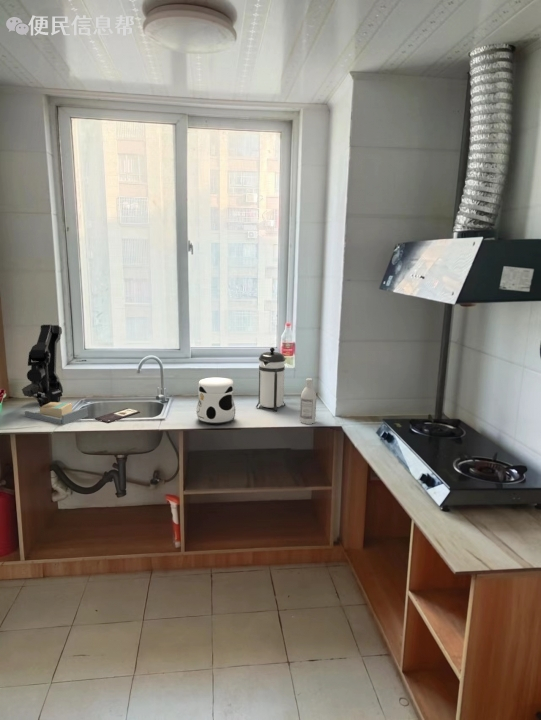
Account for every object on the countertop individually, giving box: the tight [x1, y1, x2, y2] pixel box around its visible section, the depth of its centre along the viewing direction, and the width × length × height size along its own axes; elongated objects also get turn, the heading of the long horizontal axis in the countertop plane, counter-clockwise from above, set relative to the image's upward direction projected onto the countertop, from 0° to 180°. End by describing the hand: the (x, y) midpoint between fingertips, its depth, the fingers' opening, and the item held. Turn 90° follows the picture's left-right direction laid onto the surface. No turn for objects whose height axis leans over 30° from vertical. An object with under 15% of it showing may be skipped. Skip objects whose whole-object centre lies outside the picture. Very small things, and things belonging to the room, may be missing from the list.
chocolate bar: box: [94, 407, 141, 424], centre depth 211 cm, size 9×1×18 cm
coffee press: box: [255, 347, 286, 412], centre depth 228 cm, size 17×16×30 cm
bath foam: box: [299, 377, 317, 425], centre depth 207 cm, size 7×7×20 cm
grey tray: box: [24, 406, 89, 426], centre depth 204 cm, size 13×24×6 cm, turn 65°
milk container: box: [196, 377, 236, 425], centre depth 207 cm, size 17×17×18 cm
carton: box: [39, 402, 73, 419], centre depth 205 cm, size 8×10×5 cm
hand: (43, 410), depth 208 cm, fingers closed
